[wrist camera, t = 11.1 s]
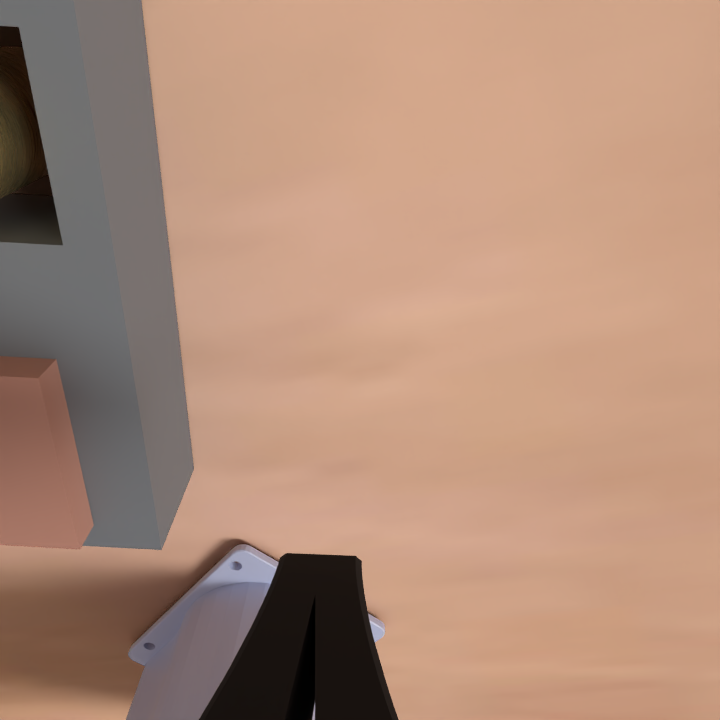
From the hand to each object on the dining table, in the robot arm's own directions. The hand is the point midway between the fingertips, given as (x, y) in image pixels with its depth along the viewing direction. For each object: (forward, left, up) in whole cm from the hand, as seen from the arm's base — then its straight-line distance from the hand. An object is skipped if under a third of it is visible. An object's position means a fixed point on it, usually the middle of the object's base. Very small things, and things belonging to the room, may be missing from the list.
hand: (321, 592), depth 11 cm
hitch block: (-4, +8, -11) cm, 14 cm away
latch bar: (-7, +6, -6) cm, 11 cm away
